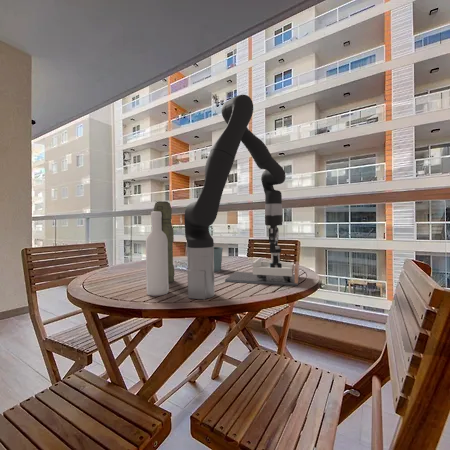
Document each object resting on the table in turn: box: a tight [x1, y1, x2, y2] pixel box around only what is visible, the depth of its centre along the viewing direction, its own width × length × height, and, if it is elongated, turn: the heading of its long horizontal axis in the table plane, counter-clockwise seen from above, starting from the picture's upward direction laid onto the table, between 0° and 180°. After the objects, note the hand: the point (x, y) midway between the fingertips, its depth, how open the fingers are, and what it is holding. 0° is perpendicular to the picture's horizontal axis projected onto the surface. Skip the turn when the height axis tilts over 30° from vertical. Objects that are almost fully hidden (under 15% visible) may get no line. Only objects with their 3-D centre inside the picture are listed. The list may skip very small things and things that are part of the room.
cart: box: [252, 257, 295, 280], centre depth 112 cm, size 16×16×7 cm
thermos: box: [153, 200, 175, 284], centre depth 111 cm, size 9×12×35 cm
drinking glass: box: [214, 246, 224, 273], centre depth 137 cm, size 10×10×12 cm
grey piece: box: [224, 261, 300, 287], centre depth 114 cm, size 17×30×7 cm, turn 72°
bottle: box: [145, 211, 170, 297], centre depth 94 cm, size 8×8×30 cm
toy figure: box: [268, 245, 282, 268], centre depth 112 cm, size 7×5×10 cm
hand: (273, 251), depth 112 cm, fingers open, 8 cm apart
